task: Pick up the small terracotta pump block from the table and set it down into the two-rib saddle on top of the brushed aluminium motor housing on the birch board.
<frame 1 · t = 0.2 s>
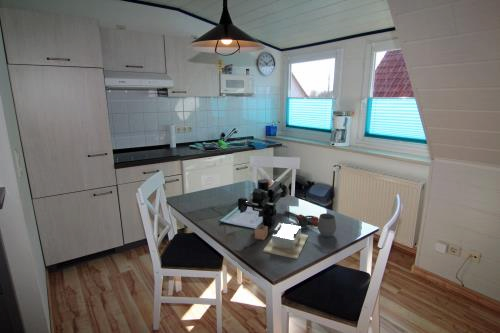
hand: (249, 213, 137), 16 cm above the table, tool horizontal, fingers open, 9 cm apart
mounting board: (286, 243, 143), on the table
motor: (287, 233, 143), on the mounting board, point 4 cm above the table
pump: (261, 236, 150), on the table
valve: (303, 220, 169), on the table
cup: (326, 234, 152), on the table
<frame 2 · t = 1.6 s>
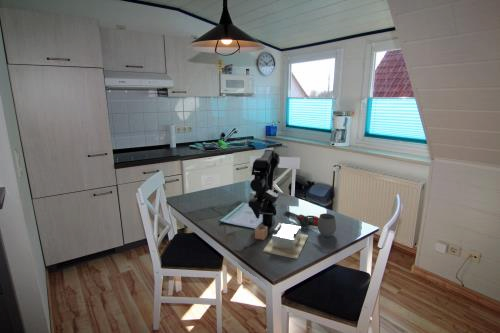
hand: (261, 214, 147), 12 cm above the table, tool pointing down, fingers open, 9 cm apart
nothing on the table moved.
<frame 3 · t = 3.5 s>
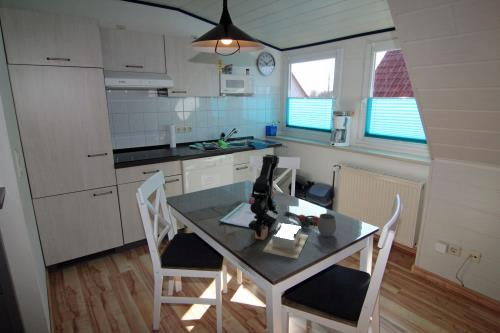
hand: (261, 234, 150), 1 cm above the table, tool pointing down, fingers closed on pump, 5 cm apart
pump: (261, 236, 150), on the table, touching gripper
everything else where it was.
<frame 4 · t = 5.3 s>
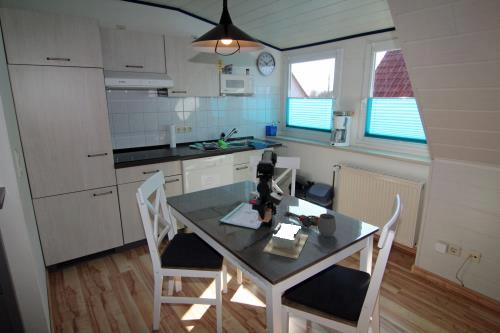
hand: (264, 217, 146), 11 cm above the table, tool pointing down, fingers closed on pump, 5 cm apart
pump: (264, 219, 146), point 10 cm above the table, touching gripper
everything else where it was.
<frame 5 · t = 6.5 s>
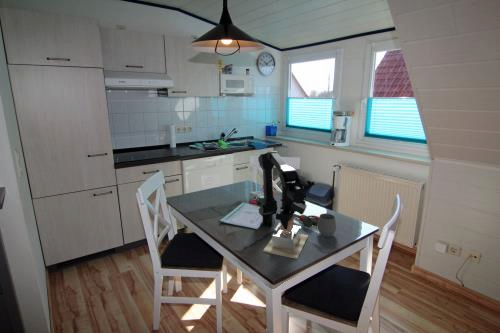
hand: (287, 226, 140), 9 cm above the table, tool pointing down, fingers closed on pump, 5 cm apart
pump: (287, 228, 141), point 8 cm above the table, touching gripper
when the fingers open (9 cm above the table, at t = 7.2 s): pump drops 1 cm, resting on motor.
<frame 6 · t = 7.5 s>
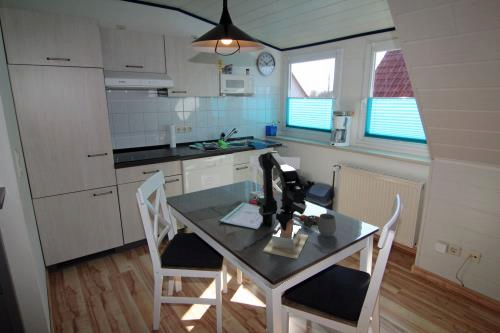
hand: (287, 226, 140), 9 cm above the table, tool pointing down, fingers open, 8 cm apart
pump: (287, 231, 141), point 7 cm above the table, touching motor
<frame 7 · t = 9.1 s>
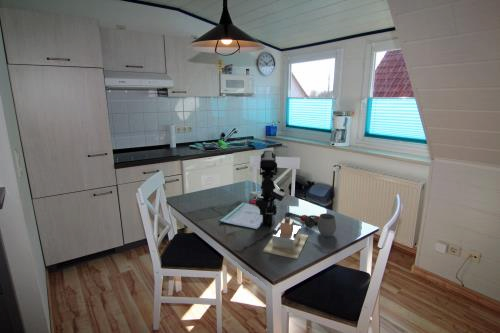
hand: (267, 213, 149), 12 cm above the table, tool pointing down, fingers open, 9 cm apart
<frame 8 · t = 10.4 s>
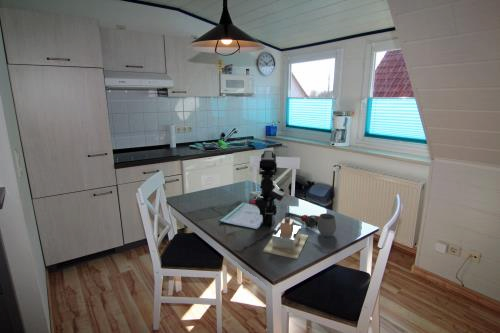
hand: (267, 213, 149), 12 cm above the table, tool pointing down, fingers open, 9 cm apart
at the end: pump 0.1 cm off-centre on the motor, point 6.8 cm above the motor's base; pump tilted 0°; the gripper is holding nothing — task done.
